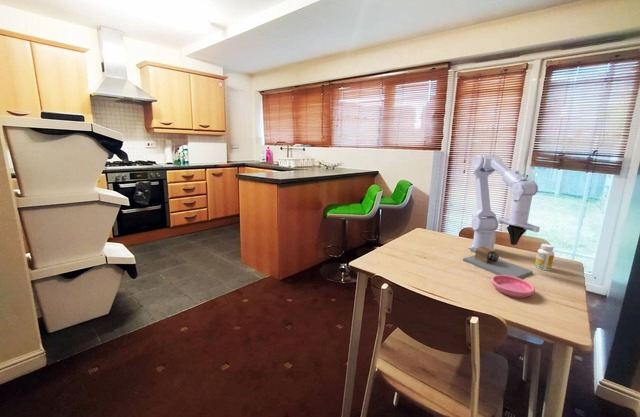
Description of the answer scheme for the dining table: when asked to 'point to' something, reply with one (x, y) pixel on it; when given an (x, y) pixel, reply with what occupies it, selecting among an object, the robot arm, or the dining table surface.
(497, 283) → the saucer
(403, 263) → the dining table surface
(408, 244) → the dining table surface
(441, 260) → the dining table surface
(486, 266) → the base board
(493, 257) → the shaft
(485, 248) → the bearing block
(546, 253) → the supplement bottle
